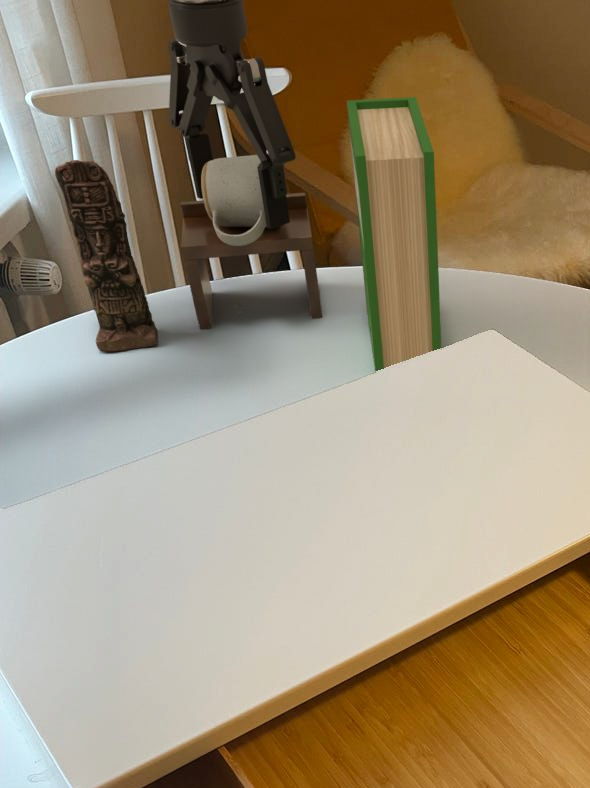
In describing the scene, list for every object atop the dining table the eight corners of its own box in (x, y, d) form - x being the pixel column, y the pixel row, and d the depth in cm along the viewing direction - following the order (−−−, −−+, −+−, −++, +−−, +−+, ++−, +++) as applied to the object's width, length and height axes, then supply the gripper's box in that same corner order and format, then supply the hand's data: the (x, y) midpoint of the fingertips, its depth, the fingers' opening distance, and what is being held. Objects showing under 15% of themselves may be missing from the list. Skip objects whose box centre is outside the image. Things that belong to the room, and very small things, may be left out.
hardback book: (442, 380, 106) (433, 151, 89) (377, 385, 105) (355, 156, 88) (426, 309, 118) (415, 97, 101) (367, 313, 117) (346, 100, 100)
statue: (98, 354, 110) (41, 175, 96) (100, 327, 115) (46, 152, 101) (158, 347, 112) (110, 169, 98) (158, 320, 117) (112, 147, 102)
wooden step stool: (199, 329, 115) (177, 234, 107) (201, 293, 122) (180, 201, 114) (322, 317, 117) (310, 223, 109) (317, 283, 124) (305, 192, 116)
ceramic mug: (220, 212, 115) (206, 144, 109) (287, 211, 115) (276, 144, 109) (202, 249, 108) (187, 179, 102) (274, 248, 108) (262, 178, 102)
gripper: (311, 6, 91) (336, 228, 106) (166, -28, 103) (206, 175, 118) (249, 20, 87) (283, 248, 102) (105, -18, 99) (155, 191, 114)
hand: (242, 210), depth 110 cm, fingers open, 13 cm apart
